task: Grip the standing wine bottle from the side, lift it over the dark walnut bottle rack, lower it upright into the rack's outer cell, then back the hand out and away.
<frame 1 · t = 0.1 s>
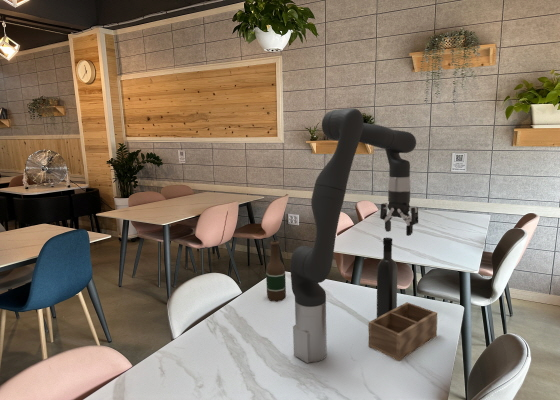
hand: (398, 233, 140), 29 cm above the table, tool pointing down, fingers open, 8 cm apart
wine bottle: (386, 321, 136), on the table
beer bottle: (276, 298, 158), on the table
bottle rack: (403, 340, 122), on the table
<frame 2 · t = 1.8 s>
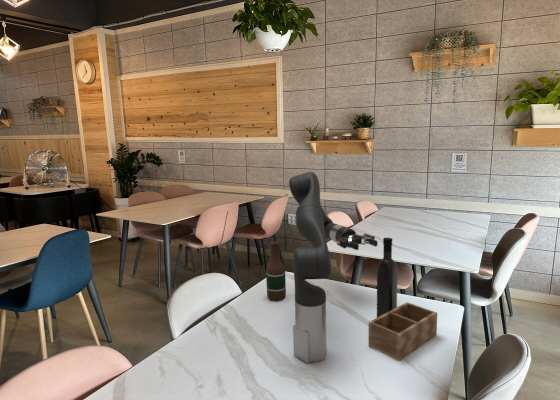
hand: (367, 245, 142), 25 cm above the table, tool horizontal, fingers open, 8 cm apart
nothing on the table moved.
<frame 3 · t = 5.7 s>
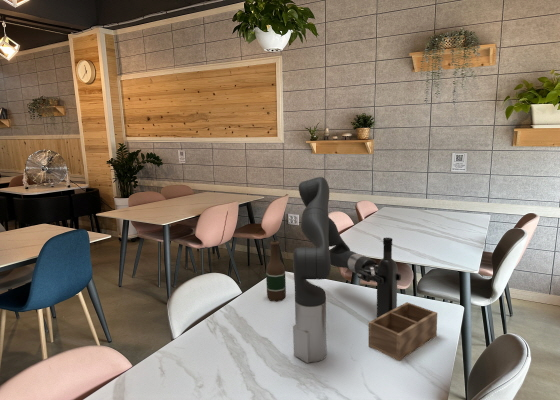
hand: (391, 279, 131), 16 cm above the table, tool horizontal, fingers closed on wine bottle, 7 cm apart
wine bottle: (386, 321, 136), on the table, touching gripper
everything else where it was.
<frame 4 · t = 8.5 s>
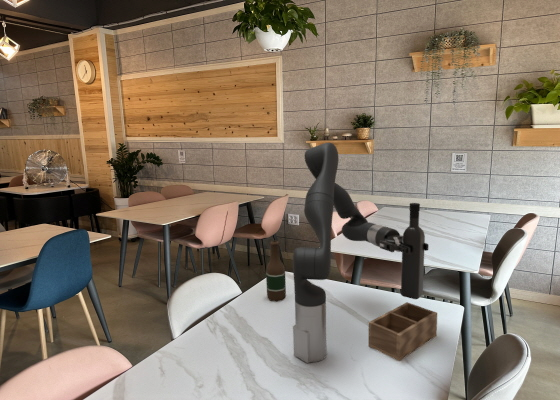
hand: (418, 249, 119), 30 cm above the table, tool horizontal, fingers closed on wine bottle, 7 cm apart
wine bottle: (411, 295, 124), point 13 cm above the table, touching gripper
everything else where it was.
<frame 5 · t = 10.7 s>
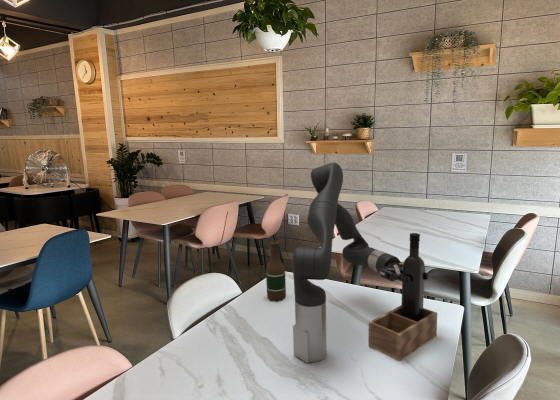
hand: (418, 278, 120), 20 cm above the table, tool horizontal, fingers closed on wine bottle, 7 cm apart
wine bottle: (411, 323, 125), point 4 cm above the table, touching gripper
everything else where it was.
when the fingers open (19 cm above the table, at t = 11.8 s): wine bottle drops 2 cm, resting on bottle rack.
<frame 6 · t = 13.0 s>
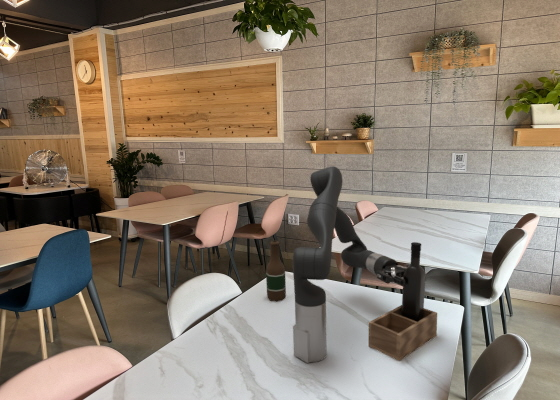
hand: (414, 280, 122), 19 cm above the table, tool horizontal, fingers open, 8 cm apart
wine bottle: (411, 332, 125), point 1 cm above the table, touching bottle rack
everything else where it was.
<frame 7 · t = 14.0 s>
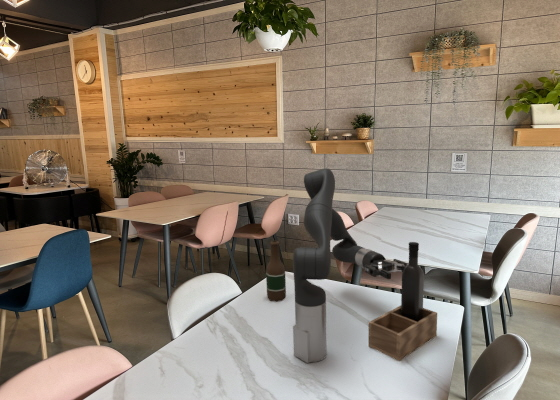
hand: (400, 274, 128), 19 cm above the table, tool horizontal, fingers open, 8 cm apart
nothing on the table moved.
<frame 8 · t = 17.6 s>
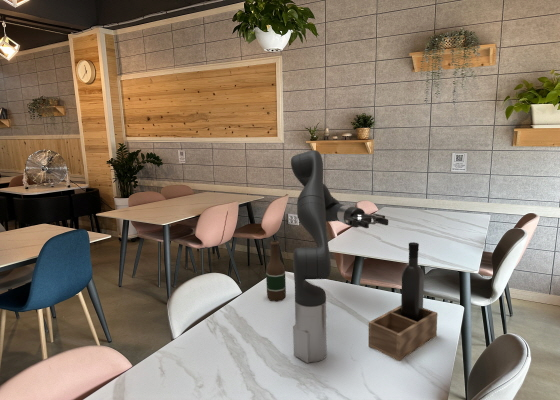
hand: (377, 223, 135), 34 cm above the table, tool horizontal, fingers open, 8 cm apart
nothing on the table moved.
at the end: wine bottle 0.2 cm from the target spot on the bottle rack, point 0.8 cm above the bottle rack's base; wine bottle tilted 0°; the gripper is holding nothing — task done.
